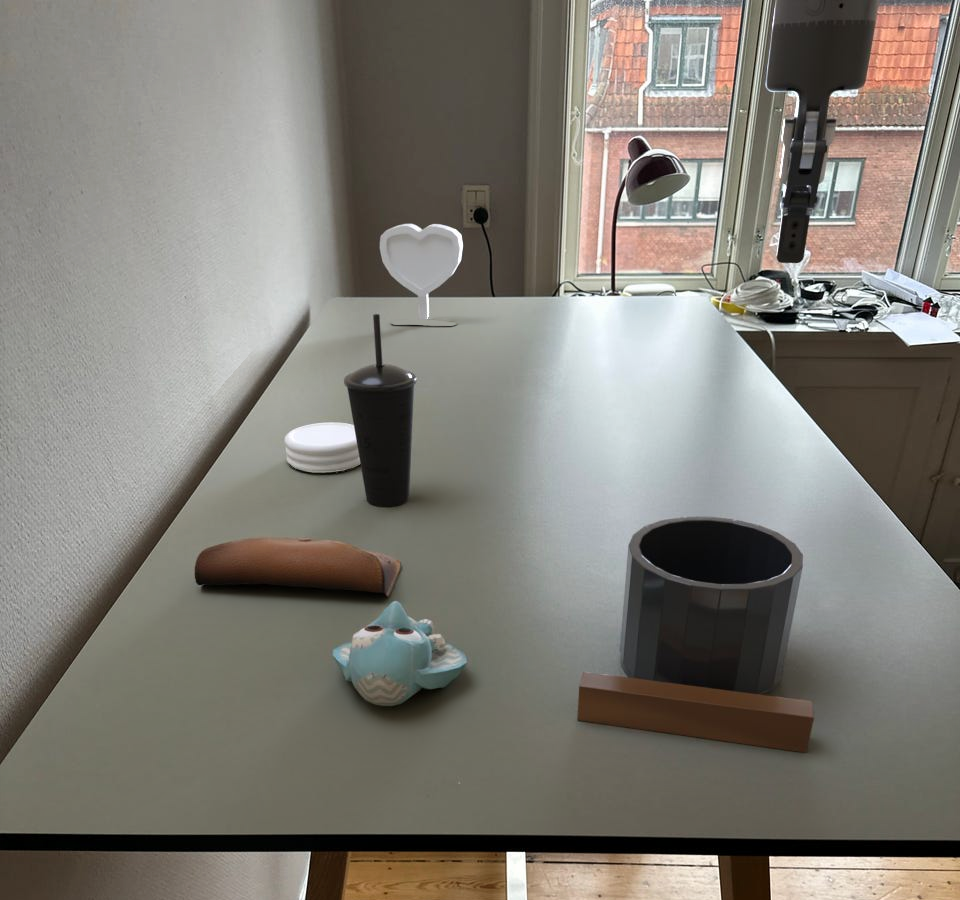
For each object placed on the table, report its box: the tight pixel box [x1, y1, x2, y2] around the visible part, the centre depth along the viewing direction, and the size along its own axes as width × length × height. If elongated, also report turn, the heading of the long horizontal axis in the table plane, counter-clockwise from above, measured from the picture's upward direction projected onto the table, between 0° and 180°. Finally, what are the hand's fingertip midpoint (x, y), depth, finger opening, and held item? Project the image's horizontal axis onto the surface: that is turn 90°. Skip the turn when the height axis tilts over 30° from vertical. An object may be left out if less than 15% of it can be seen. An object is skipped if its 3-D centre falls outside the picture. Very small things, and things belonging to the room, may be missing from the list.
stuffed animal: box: [332, 600, 468, 707], centre depth 71 cm, size 11×7×12 cm
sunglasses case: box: [194, 536, 402, 597], centre depth 86 cm, size 18×7×7 cm
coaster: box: [284, 421, 361, 471], centre depth 114 cm, size 10×10×4 cm
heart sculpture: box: [379, 223, 464, 319], centre depth 178 cm, size 16×5×18 cm, turn 81°
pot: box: [619, 516, 804, 696], centre depth 71 cm, size 13×13×10 cm
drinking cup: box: [343, 313, 417, 508], centre depth 99 cm, size 8×8×20 cm
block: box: [576, 671, 815, 754], centre depth 65 cm, size 2×16×3 cm, turn 76°
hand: (789, 261), depth 79 cm, fingers closed
